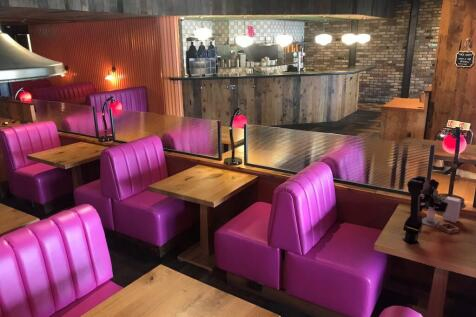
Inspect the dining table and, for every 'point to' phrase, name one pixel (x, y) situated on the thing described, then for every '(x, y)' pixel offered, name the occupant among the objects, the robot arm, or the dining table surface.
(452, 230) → the walnut pocket
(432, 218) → the cream shaker
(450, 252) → the dining table surface
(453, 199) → the skincare box
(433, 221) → the grey mat
